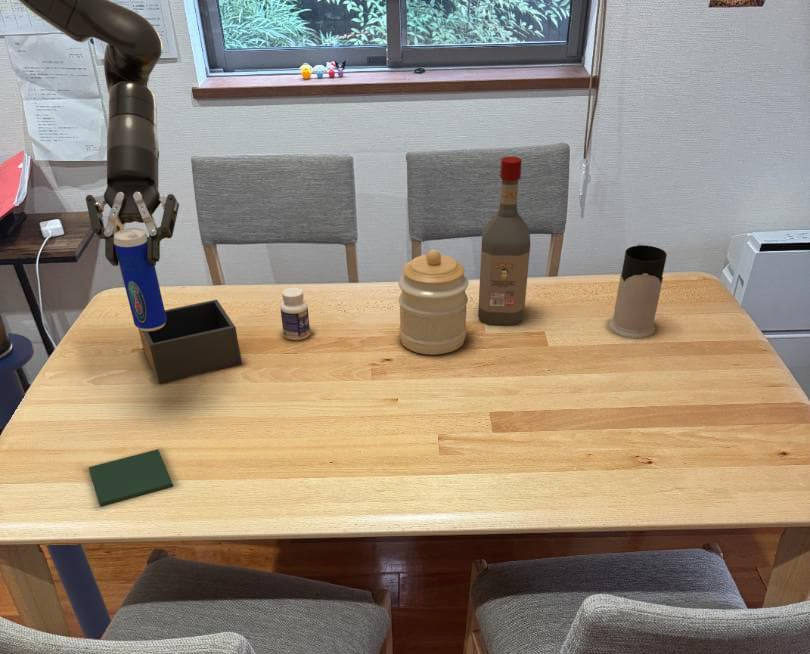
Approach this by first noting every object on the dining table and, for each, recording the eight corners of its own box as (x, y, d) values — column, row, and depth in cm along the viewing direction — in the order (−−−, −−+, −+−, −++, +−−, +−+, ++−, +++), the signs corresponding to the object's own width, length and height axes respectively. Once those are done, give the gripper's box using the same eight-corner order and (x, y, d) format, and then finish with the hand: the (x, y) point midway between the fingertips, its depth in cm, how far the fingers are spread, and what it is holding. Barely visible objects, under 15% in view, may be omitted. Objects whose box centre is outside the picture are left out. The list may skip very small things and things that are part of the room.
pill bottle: (305, 342, 158) (300, 299, 152) (279, 339, 158) (274, 296, 153) (314, 329, 161) (309, 287, 155) (289, 327, 162) (284, 284, 156)
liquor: (523, 326, 161) (537, 168, 141) (477, 325, 162) (485, 167, 142) (522, 305, 168) (536, 152, 148) (478, 304, 169) (486, 151, 148)
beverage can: (129, 325, 132) (105, 234, 122) (155, 314, 135) (134, 224, 125) (147, 335, 130) (124, 243, 120) (173, 324, 132) (153, 233, 122)
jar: (475, 330, 160) (479, 242, 148) (452, 361, 151) (455, 270, 139) (414, 319, 164) (413, 232, 152) (389, 349, 155) (386, 259, 143)
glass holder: (610, 336, 157) (623, 261, 147) (606, 304, 168) (618, 232, 158) (656, 339, 156) (672, 263, 146) (649, 306, 167) (664, 233, 157)
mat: (100, 506, 121) (99, 503, 120) (89, 470, 128) (88, 467, 127) (173, 486, 124) (172, 483, 124) (158, 451, 131) (158, 448, 131)
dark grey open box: (158, 383, 147) (149, 345, 142) (144, 352, 155) (135, 316, 150) (241, 364, 152) (235, 326, 146) (223, 335, 160) (216, 299, 155)
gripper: (76, 143, 120) (75, 254, 120) (172, 141, 121) (172, 253, 120) (95, 168, 128) (95, 273, 127) (186, 167, 128) (186, 272, 127)
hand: (132, 263), depth 123 cm, fingers closed on beverage can, 5 cm apart
